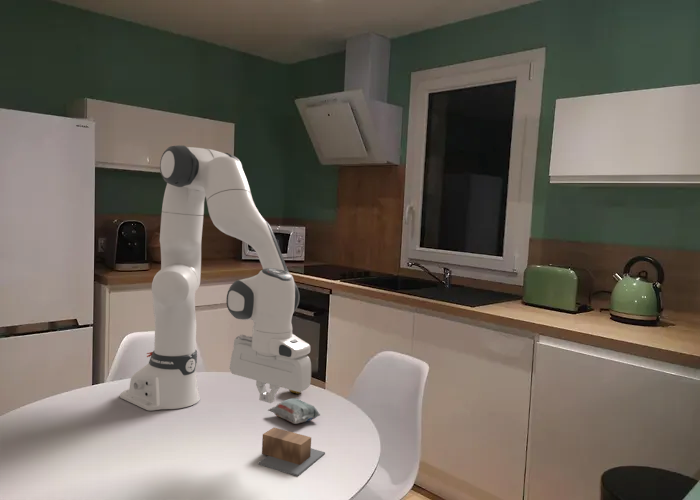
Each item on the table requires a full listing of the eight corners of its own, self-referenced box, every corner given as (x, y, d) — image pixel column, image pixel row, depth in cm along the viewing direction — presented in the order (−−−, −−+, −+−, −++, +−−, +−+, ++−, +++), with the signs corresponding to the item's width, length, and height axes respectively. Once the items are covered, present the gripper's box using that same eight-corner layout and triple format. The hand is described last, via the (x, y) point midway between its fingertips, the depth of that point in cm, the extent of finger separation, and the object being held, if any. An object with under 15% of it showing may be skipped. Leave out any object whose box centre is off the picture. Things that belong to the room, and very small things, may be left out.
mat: (258, 464, 114) (258, 462, 114) (288, 443, 124) (288, 442, 124) (297, 476, 109) (297, 474, 109) (325, 453, 120) (325, 452, 120)
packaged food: (295, 431, 132) (296, 412, 132) (266, 416, 140) (267, 398, 140) (320, 423, 138) (321, 404, 138) (292, 409, 146) (293, 392, 146)
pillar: (261, 433, 117) (301, 444, 113) (272, 427, 122) (311, 437, 117) (260, 453, 118) (300, 464, 113) (272, 445, 122) (310, 456, 117)
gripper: (226, 335, 119) (221, 394, 120) (302, 352, 110) (296, 416, 111) (243, 330, 125) (239, 387, 126) (317, 347, 116) (311, 408, 117)
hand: (266, 401), depth 119 cm, fingers closed
